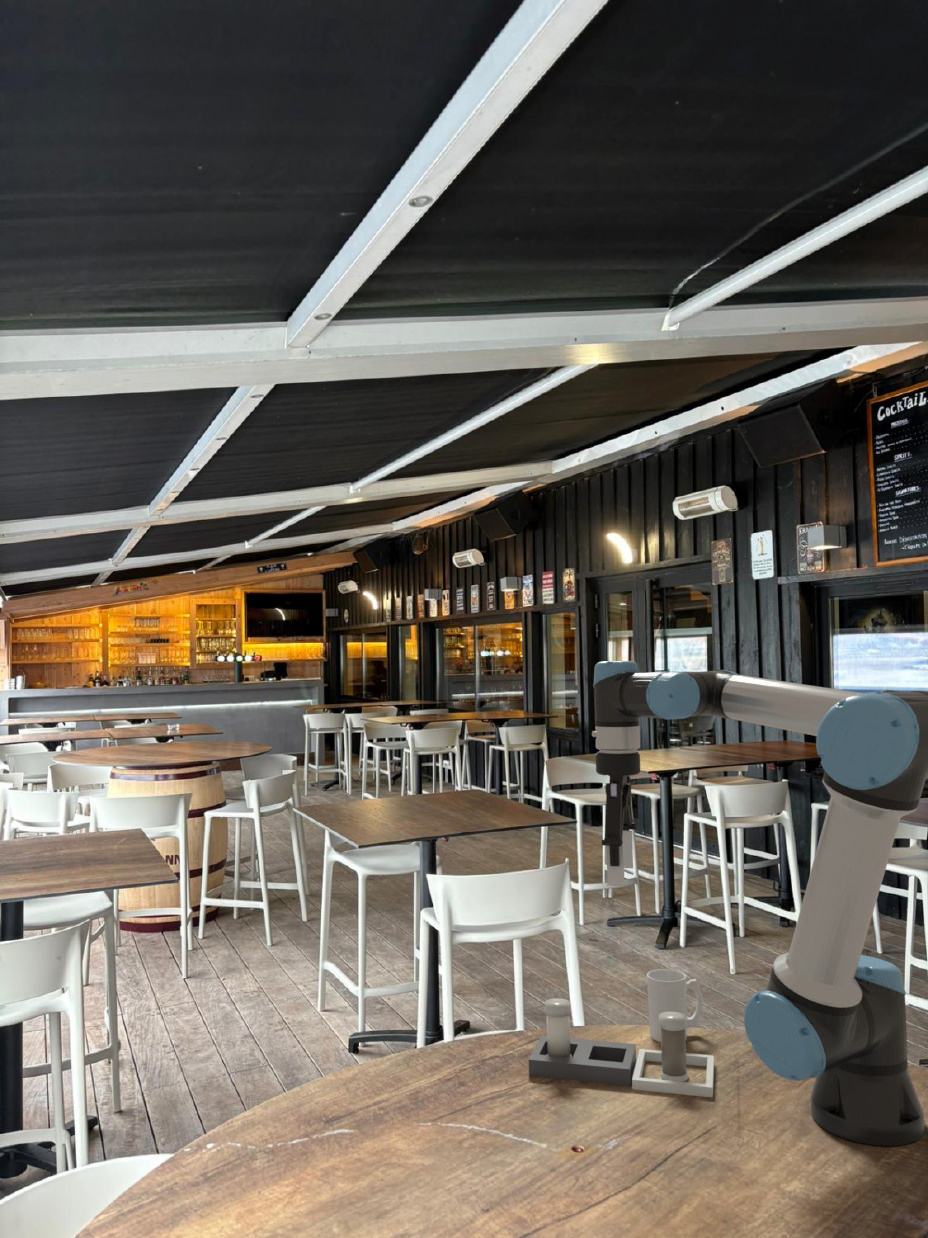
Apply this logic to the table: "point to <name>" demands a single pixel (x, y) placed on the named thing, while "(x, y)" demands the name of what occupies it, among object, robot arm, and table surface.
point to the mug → (670, 998)
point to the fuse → (558, 1027)
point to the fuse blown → (673, 1046)
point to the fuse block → (586, 1062)
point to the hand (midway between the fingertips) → (620, 876)
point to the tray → (674, 1086)
